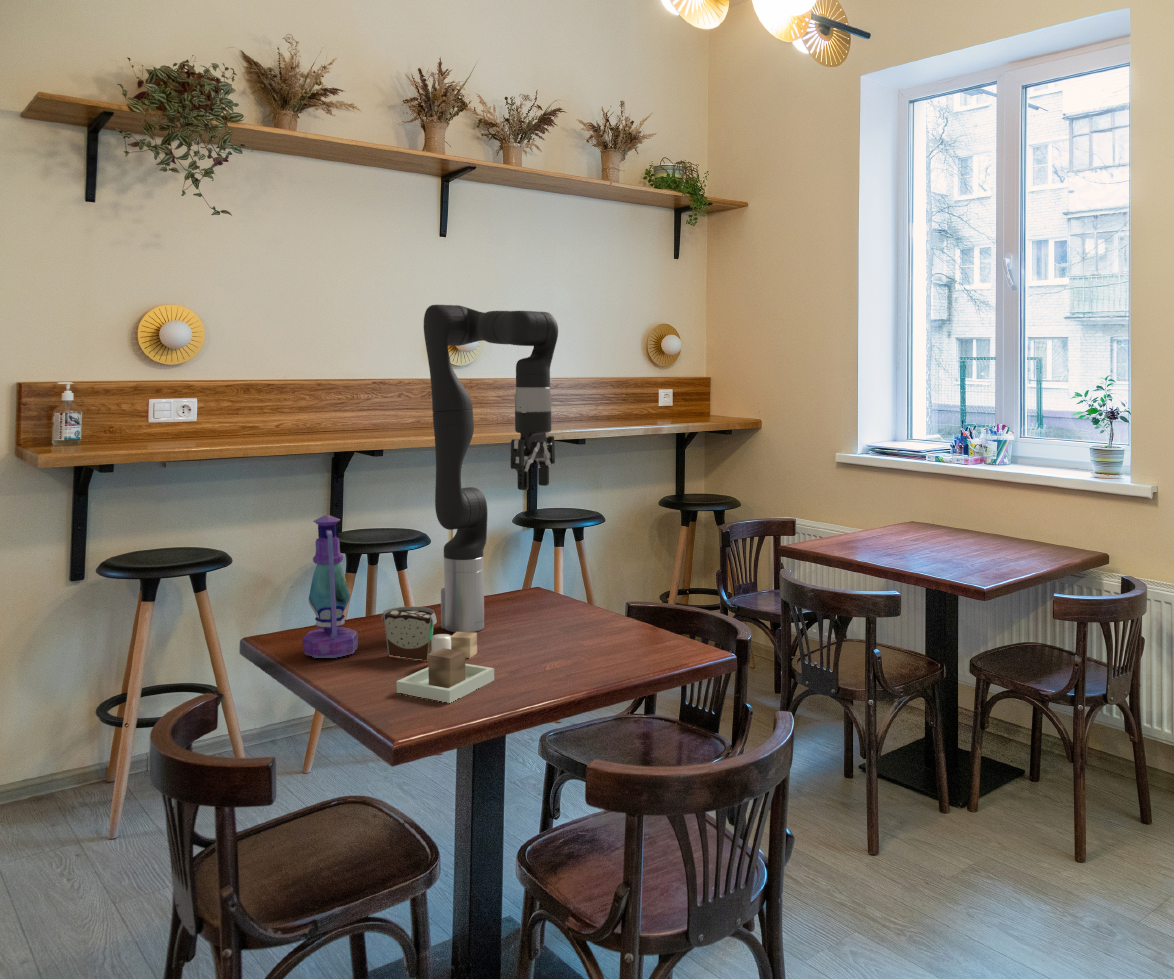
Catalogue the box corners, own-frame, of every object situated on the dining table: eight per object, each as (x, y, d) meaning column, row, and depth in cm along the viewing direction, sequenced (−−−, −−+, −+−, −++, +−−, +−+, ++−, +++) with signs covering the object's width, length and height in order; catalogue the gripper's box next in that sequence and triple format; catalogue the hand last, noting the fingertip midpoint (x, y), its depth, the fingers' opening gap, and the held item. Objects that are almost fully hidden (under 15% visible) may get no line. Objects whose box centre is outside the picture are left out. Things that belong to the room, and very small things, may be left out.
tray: (396, 693, 177) (396, 681, 177) (443, 671, 190) (443, 660, 190) (449, 703, 172) (449, 690, 171) (494, 680, 185) (494, 668, 185)
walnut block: (428, 685, 180) (428, 654, 179) (444, 678, 184) (443, 648, 184) (450, 689, 178) (449, 658, 177) (465, 681, 182) (465, 651, 181)
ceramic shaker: (427, 666, 194) (427, 637, 193) (439, 661, 198) (438, 633, 197) (444, 669, 192) (443, 640, 191) (455, 663, 196) (454, 635, 195)
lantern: (363, 658, 199) (359, 517, 196) (306, 665, 195) (301, 520, 191) (353, 642, 211) (349, 509, 208) (299, 648, 207) (294, 512, 203)
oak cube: (450, 657, 200) (449, 637, 200) (457, 651, 205) (457, 631, 204) (470, 659, 199) (470, 638, 199) (477, 653, 204) (476, 632, 203)
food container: (447, 654, 202) (447, 608, 201) (434, 662, 197) (433, 615, 195) (397, 648, 206) (396, 604, 205) (382, 656, 201) (381, 610, 199)
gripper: (534, 408, 203) (535, 483, 205) (499, 410, 190) (500, 490, 192) (565, 408, 199) (565, 485, 201) (531, 410, 187) (531, 492, 189)
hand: (533, 487), depth 197 cm, fingers open, 8 cm apart
